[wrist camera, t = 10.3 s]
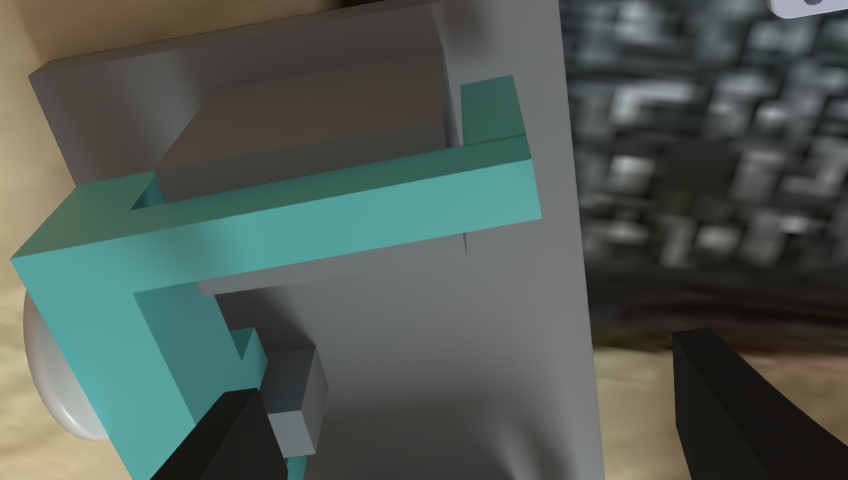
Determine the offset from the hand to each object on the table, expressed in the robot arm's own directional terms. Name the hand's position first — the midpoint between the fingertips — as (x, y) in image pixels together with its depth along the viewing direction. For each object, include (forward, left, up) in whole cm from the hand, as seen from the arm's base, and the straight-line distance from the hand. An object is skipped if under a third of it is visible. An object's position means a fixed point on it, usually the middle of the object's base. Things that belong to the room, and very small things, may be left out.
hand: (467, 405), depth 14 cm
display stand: (+4, +5, -9) cm, 11 cm away
